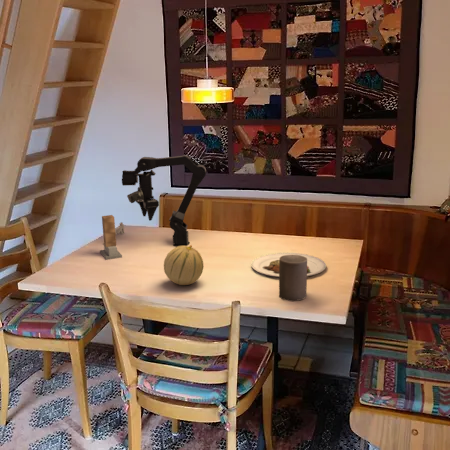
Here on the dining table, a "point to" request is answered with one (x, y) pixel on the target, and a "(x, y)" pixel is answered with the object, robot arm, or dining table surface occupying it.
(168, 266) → the cantaloupe
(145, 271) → the dining table surface
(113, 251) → the grey box
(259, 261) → the plated food
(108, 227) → the walnut post
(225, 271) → the dining table surface
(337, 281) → the dining table surface
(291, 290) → the pillar candle
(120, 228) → the caliper
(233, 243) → the dining table surface
